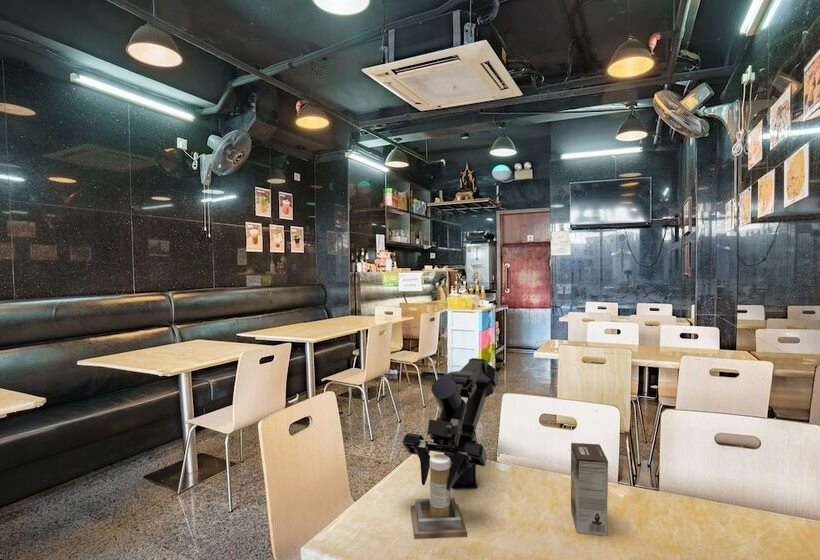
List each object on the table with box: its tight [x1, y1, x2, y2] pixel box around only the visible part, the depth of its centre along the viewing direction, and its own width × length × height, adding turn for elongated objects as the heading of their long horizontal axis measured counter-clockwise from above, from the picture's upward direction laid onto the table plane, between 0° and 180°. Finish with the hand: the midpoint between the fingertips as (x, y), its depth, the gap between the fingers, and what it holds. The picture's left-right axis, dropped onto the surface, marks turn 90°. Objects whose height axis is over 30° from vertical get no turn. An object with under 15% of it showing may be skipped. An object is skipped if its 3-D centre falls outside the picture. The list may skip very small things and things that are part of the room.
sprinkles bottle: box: [429, 453, 451, 518], centre depth 97 cm, size 5×5×14 cm
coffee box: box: [570, 442, 609, 537], centre depth 97 cm, size 9×6×16 cm
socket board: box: [410, 497, 468, 540], centre depth 97 cm, size 11×11×3 cm
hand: (435, 487), depth 96 cm, fingers open, 5 cm apart
